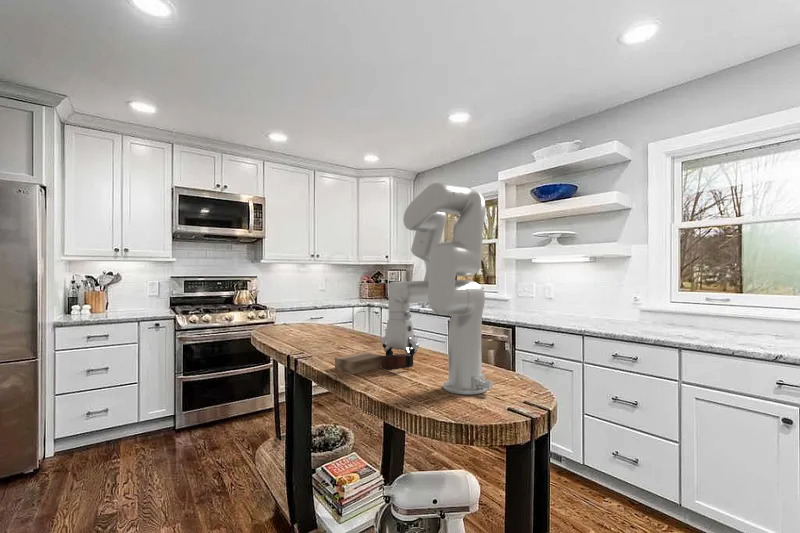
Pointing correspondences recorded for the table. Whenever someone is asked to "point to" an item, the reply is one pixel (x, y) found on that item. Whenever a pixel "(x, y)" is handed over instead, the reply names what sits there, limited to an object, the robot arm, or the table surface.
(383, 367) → the brick
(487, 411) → the table surface
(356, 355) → the base block
